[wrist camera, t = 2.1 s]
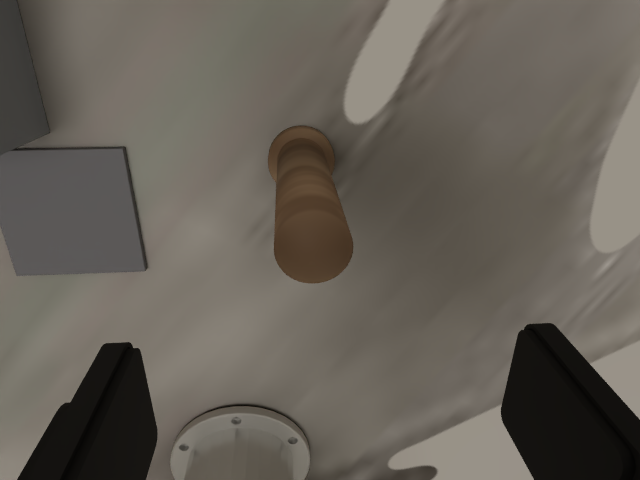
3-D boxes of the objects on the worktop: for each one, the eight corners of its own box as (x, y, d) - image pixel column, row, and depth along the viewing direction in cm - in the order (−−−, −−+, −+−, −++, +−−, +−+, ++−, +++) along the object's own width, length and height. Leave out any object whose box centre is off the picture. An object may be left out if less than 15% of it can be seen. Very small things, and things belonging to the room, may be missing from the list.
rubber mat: (147, 268, 34) (145, 271, 33) (20, 272, 33) (16, 275, 33) (125, 146, 30) (122, 148, 29) (-20, 149, 29) (-24, 151, 29)
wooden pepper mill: (332, 188, 32) (365, 293, 19) (270, 190, 32) (261, 297, 19) (333, 125, 30) (370, 195, 18) (266, 126, 30) (255, 198, 17)
